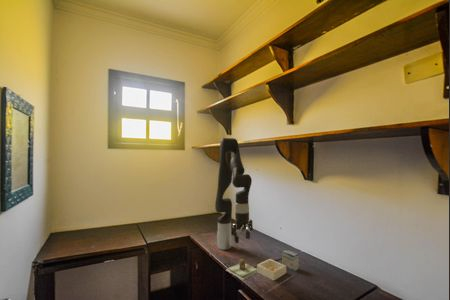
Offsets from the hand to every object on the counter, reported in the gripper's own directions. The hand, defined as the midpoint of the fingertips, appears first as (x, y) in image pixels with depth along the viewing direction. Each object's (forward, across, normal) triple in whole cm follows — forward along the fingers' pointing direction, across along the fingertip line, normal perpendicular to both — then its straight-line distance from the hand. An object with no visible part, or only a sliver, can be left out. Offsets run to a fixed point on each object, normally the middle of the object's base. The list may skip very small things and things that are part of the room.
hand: (242, 240), depth 126 cm
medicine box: (+17, -23, +15) cm, 32 cm away
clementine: (+14, -10, +12) cm, 21 cm away
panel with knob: (+17, 0, 0) cm, 17 cm away
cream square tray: (+17, -10, +12) cm, 23 cm away
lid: (+16, 0, 0) cm, 16 cm away
